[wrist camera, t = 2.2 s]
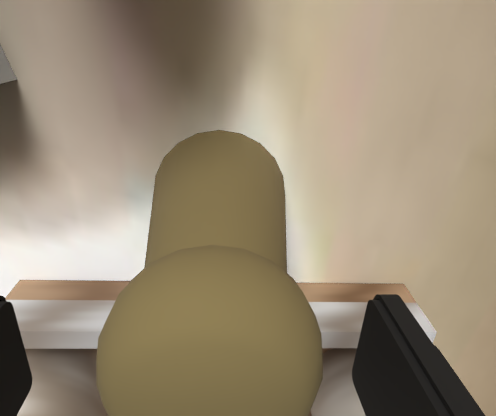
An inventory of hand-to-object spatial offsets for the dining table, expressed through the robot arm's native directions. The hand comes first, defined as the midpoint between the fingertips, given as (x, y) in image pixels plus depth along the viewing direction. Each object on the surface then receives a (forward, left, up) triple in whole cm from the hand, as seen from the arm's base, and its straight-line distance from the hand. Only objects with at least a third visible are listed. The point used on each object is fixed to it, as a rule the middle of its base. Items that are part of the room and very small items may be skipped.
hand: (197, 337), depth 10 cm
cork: (0, -1, -8) cm, 8 cm away
